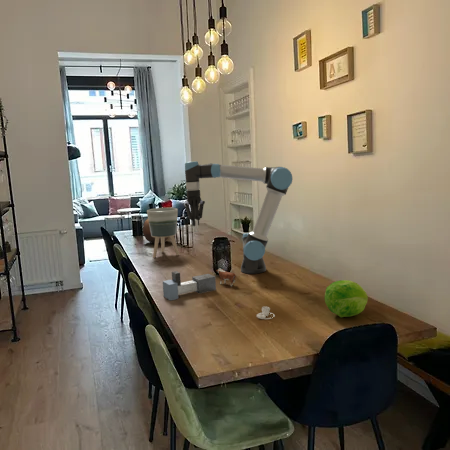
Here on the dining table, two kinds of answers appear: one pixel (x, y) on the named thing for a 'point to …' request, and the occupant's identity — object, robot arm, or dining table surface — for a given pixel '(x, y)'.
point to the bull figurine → (226, 276)
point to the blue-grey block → (170, 289)
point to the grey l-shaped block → (184, 284)
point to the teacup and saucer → (265, 313)
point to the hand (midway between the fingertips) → (196, 231)
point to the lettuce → (345, 298)
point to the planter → (163, 226)
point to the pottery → (149, 233)
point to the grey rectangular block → (205, 283)
